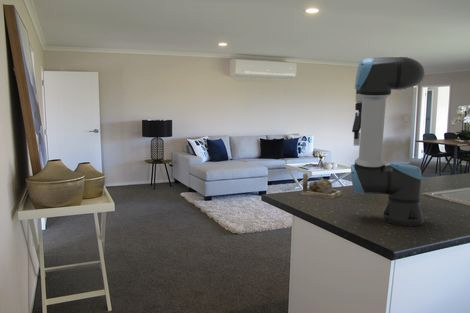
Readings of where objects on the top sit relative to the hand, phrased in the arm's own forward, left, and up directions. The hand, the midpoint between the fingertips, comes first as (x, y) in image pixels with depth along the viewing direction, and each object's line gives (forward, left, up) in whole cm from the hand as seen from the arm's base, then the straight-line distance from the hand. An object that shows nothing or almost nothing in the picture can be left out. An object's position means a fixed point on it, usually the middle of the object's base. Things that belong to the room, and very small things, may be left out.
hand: (361, 144), depth 193 cm
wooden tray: (-10, +17, -27) cm, 33 cm away
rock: (-11, +16, -27) cm, 33 cm away
